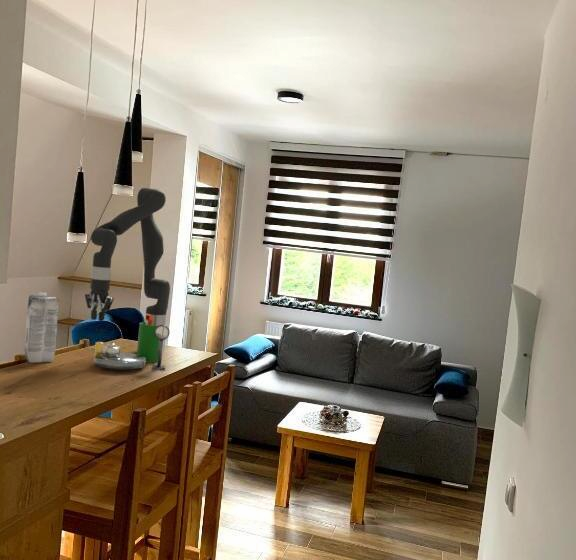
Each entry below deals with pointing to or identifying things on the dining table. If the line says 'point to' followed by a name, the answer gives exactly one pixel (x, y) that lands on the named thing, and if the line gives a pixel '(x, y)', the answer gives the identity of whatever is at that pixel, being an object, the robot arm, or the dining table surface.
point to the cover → (111, 350)
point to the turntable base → (118, 369)
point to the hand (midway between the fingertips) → (97, 319)
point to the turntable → (117, 359)
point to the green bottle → (148, 340)
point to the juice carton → (41, 328)
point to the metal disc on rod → (160, 344)
